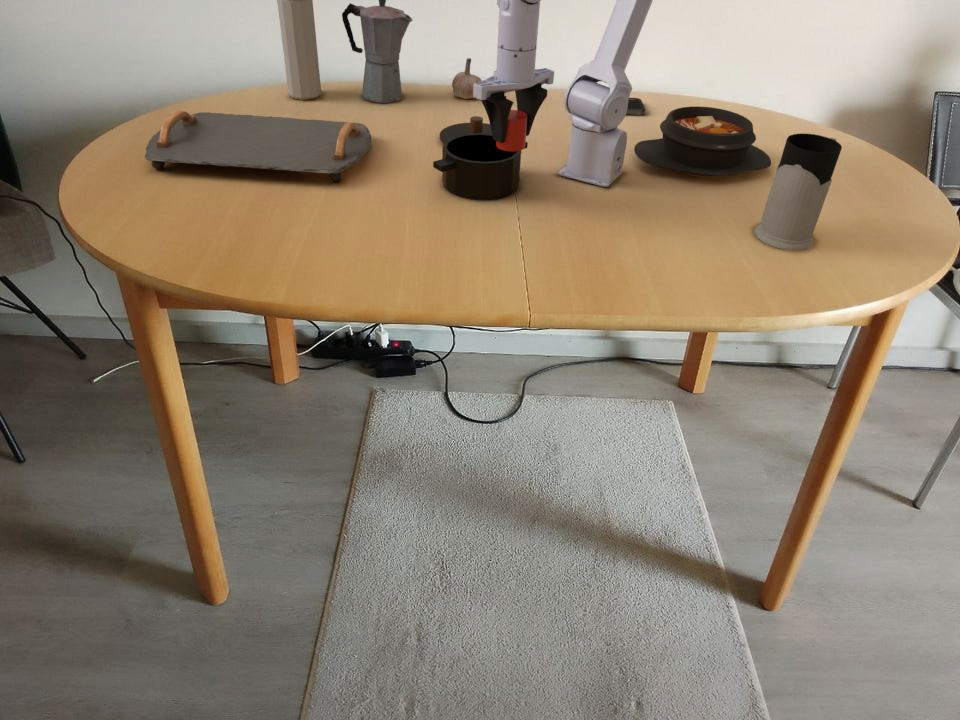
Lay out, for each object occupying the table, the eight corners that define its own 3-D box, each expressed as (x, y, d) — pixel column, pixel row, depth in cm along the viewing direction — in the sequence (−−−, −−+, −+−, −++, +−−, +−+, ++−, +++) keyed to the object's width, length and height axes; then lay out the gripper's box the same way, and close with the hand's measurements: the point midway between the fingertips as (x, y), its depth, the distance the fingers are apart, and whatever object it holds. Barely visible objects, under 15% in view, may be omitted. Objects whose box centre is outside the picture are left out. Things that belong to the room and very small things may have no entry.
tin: (530, 144, 116) (532, 113, 113) (516, 153, 112) (519, 122, 109) (504, 138, 117) (506, 107, 114) (490, 147, 114) (492, 115, 111)
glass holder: (744, 235, 113) (772, 142, 104) (783, 208, 121) (812, 118, 112) (799, 256, 108) (832, 159, 99) (835, 225, 117) (869, 134, 108)
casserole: (643, 184, 127) (652, 137, 122) (623, 143, 142) (630, 100, 136) (783, 187, 128) (798, 140, 123) (749, 146, 143) (761, 104, 138)
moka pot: (408, 107, 153) (405, 4, 141) (339, 100, 156) (330, -2, 143) (420, 93, 161) (418, -6, 149) (353, 87, 163) (347, -12, 151)
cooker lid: (526, 144, 139) (528, 122, 137) (469, 160, 132) (470, 137, 130) (481, 123, 148) (482, 101, 145) (425, 137, 141) (424, 114, 138)
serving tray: (130, 172, 123) (120, 137, 119) (186, 124, 141) (179, 92, 137) (355, 189, 121) (353, 153, 117) (382, 138, 139) (381, 106, 135)
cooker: (545, 184, 125) (549, 148, 121) (461, 211, 116) (462, 173, 112) (497, 159, 133) (499, 125, 129) (415, 183, 124) (414, 146, 120)
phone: (572, 95, 160) (640, 98, 160) (572, 100, 161) (639, 103, 161) (575, 107, 154) (646, 110, 154) (574, 112, 154) (645, 115, 155)
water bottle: (320, 102, 154) (307, -30, 139) (283, 100, 154) (266, -32, 139) (328, 88, 162) (316, -38, 146) (292, 86, 161) (277, -40, 146)
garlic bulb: (470, 88, 165) (471, 51, 160) (491, 97, 161) (492, 59, 156) (443, 94, 161) (444, 56, 156) (464, 103, 157) (465, 65, 152)
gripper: (535, 33, 112) (528, 120, 120) (460, 46, 104) (459, 138, 113) (567, 43, 108) (557, 133, 116) (492, 58, 100) (488, 153, 108)
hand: (511, 137), depth 114 cm, fingers closed on tin, 4 cm apart
